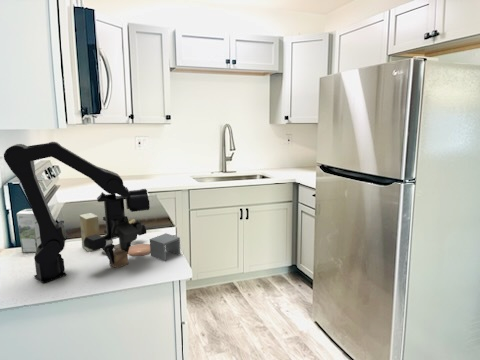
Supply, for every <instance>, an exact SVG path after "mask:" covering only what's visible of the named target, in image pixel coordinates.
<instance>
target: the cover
mask: <svg viewBox="0 0 480 360" xmlns="http://www.w3.org/2000/svg"><path fill="white" fill-rule="evenodd" d="M180 238H181V237H180V236H175V235H173V234H170V233H167V232H166V233H164V234H160V235H157V236H155V237H152V238H149V244H150V253H149V254H150V256H151V257H153V258H155V259H158V260H161V261H163V262H166V261H167V260H166V259H167V258H166V257H167V256H166V254H167V253H166V252H170V253H173V254H175V255H181V239H180Z"/></svg>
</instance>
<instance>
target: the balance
mask: <svg viewBox="0 0 480 360" xmlns="http://www.w3.org/2000/svg"><path fill="white" fill-rule="evenodd" d="M128 221H129V223H130V224H131V223H136V219H135V218H132V219H130V220H128ZM105 235H107V234H106V233H105ZM113 240H114V239H113ZM113 240H111V241H112V244H113V243H114V241H113ZM118 242H119V243H117V244H114V245H115V246H114V248H113V250H118V249H121V244H120V239H119V238H118ZM130 246H132V244H131V245H130Z"/></svg>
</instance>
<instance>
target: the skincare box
mask: <svg viewBox="0 0 480 360" xmlns="http://www.w3.org/2000/svg"><path fill="white" fill-rule="evenodd" d="M79 224H80V236H81V247H82V248H83V250H85V251H87V252H89V253H90V252H93V251H95V250H92V249H89V248H87V247H85V246H84V239H85V238H86V237H88V236H92V235H95V234H97V235H100V223H99V216H98V215H96V214H94V213H93V212H89V213H84V214H83V213H82V214H79Z"/></svg>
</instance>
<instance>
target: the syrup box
mask: <svg viewBox="0 0 480 360" xmlns="http://www.w3.org/2000/svg"><path fill="white" fill-rule="evenodd" d="M16 220H17V226H18V234H19V240H20V247H21V253H24V254H25V253H36V251H37V248H38V246H39V245H40V244H41V240H40V232H39V225H38V223H37V220H36V218H35V216H34V213H33V211H32V208H25V209H22V210H20V211H18V212H17V213H16Z"/></svg>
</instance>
